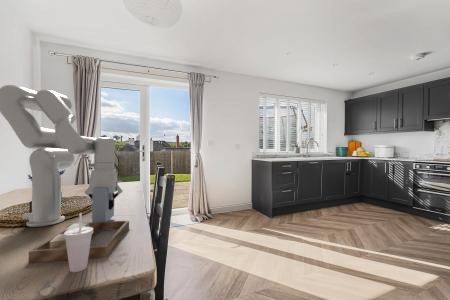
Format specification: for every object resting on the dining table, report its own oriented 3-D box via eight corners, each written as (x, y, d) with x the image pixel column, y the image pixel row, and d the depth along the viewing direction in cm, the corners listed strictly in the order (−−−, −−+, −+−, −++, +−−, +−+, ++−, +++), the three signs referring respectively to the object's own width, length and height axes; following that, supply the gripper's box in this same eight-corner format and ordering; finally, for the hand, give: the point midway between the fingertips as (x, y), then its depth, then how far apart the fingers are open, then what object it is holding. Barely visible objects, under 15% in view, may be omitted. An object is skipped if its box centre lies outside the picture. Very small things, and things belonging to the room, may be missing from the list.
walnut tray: (28, 262, 58) (28, 251, 58) (74, 230, 82) (74, 223, 82) (106, 257, 62) (106, 246, 62) (129, 228, 85) (129, 220, 85)
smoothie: (98, 261, 59) (98, 210, 59) (83, 275, 53) (84, 217, 53) (74, 262, 59) (74, 210, 59) (56, 275, 52) (57, 217, 53)
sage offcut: (65, 243, 71) (65, 229, 71) (73, 236, 77) (73, 223, 77) (82, 241, 73) (82, 228, 73) (89, 235, 78) (89, 222, 78)
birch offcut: (49, 255, 63) (49, 241, 63) (58, 247, 69) (58, 234, 69) (69, 253, 64) (70, 239, 64) (76, 245, 70) (76, 232, 70)
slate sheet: (92, 223, 87) (92, 188, 87) (101, 215, 97) (102, 184, 97) (105, 222, 88) (105, 188, 88) (113, 215, 97) (114, 184, 98)
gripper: (78, 167, 87) (77, 212, 87) (122, 167, 90) (122, 210, 90) (86, 166, 95) (86, 207, 94) (127, 165, 97) (127, 206, 97)
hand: (103, 208), depth 92 cm, fingers closed on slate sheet, 5 cm apart
